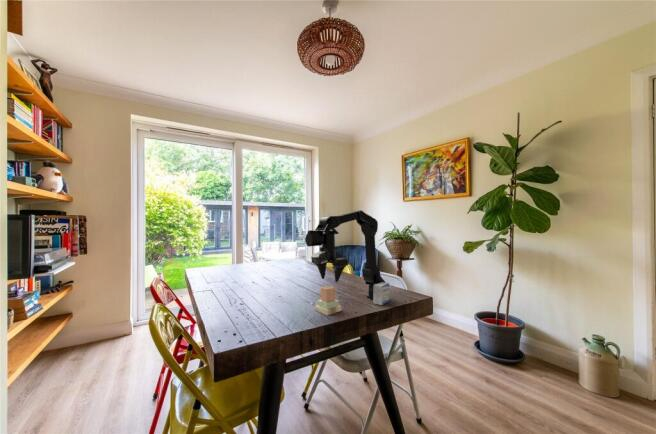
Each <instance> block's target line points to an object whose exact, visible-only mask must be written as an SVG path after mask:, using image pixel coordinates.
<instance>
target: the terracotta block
mask: <svg viewBox="0 0 656 434" xmlns="http://www.w3.org/2000/svg"><path fill="white" fill-rule="evenodd" d="M320 299H321V300H322V301H324V302H326V303H328V302H332V301H335V299H336V288H335V287H333V286H331V285H325V286H322V287H320Z"/></svg>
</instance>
